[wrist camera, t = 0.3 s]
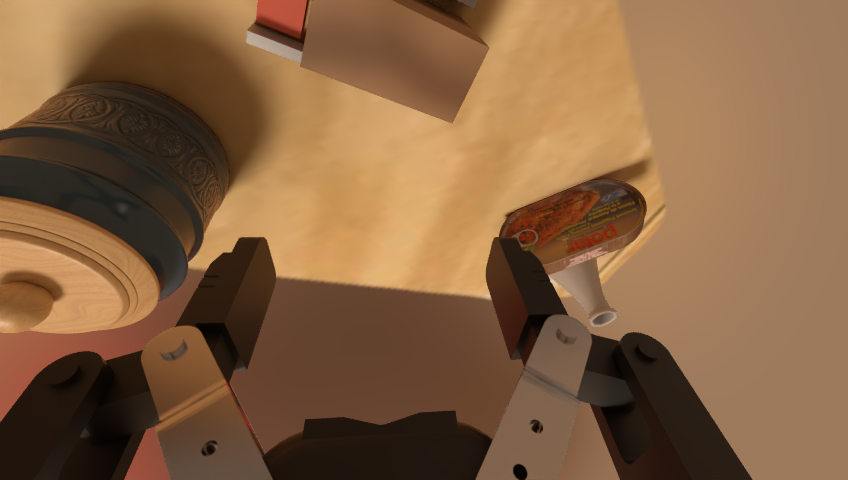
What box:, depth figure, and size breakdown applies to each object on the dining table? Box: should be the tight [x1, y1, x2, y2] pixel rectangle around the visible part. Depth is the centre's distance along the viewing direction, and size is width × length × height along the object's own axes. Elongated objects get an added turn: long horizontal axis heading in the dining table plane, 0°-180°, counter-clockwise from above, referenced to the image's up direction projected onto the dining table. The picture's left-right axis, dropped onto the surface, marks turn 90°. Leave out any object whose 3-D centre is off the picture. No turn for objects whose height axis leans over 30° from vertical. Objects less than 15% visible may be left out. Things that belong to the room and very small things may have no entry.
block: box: [300, 0, 489, 123], centre depth 23 cm, size 5×10×8 cm, turn 67°
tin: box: [499, 179, 647, 275], centre depth 38 cm, size 15×3×8 cm, turn 114°
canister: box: [0, 81, 229, 333], centre depth 24 cm, size 13×13×18 cm
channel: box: [246, 0, 479, 63], centre depth 25 cm, size 9×14×2 cm, turn 67°
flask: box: [548, 258, 618, 327], centre depth 44 cm, size 7×7×10 cm
